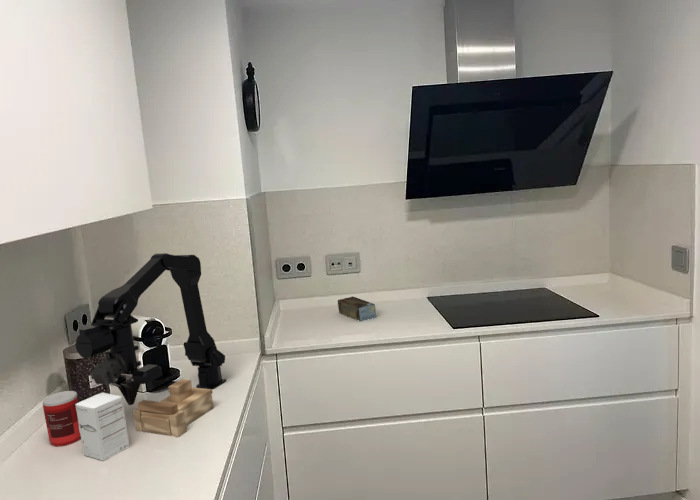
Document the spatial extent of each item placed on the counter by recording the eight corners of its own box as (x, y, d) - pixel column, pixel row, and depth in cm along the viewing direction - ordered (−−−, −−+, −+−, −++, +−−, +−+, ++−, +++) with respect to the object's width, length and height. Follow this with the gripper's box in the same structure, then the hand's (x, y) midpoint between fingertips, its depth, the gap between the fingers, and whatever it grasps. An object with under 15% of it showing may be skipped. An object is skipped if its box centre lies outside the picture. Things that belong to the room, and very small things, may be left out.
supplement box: (82, 456, 127) (73, 403, 125) (111, 441, 133) (103, 391, 131) (102, 462, 123) (93, 408, 121) (131, 446, 129) (122, 395, 127)
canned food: (75, 429, 142) (68, 388, 140) (90, 436, 137) (83, 394, 135) (44, 442, 136) (36, 399, 134) (58, 450, 131) (50, 406, 129)
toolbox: (180, 404, 151) (178, 386, 151) (220, 408, 146) (218, 389, 145) (136, 430, 137) (132, 410, 136) (178, 437, 131) (175, 416, 131)
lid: (186, 390, 150) (183, 372, 150) (212, 393, 146) (210, 375, 146) (141, 415, 136) (138, 396, 135) (169, 419, 132) (166, 399, 131)
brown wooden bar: (144, 406, 138) (143, 400, 138) (178, 410, 133) (177, 403, 133) (138, 410, 136) (137, 403, 136) (172, 414, 132) (171, 407, 131)
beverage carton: (359, 322, 217) (358, 306, 216) (338, 313, 234) (336, 298, 233) (377, 318, 221) (375, 302, 220) (354, 310, 238) (352, 295, 237)
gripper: (67, 353, 133) (77, 414, 135) (123, 357, 125) (133, 422, 127) (104, 339, 143) (114, 396, 145) (159, 342, 135) (168, 402, 137)
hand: (131, 404), depth 139 cm, fingers closed
